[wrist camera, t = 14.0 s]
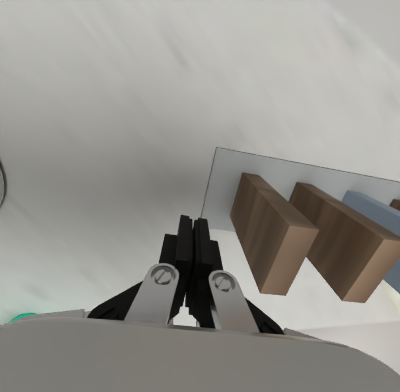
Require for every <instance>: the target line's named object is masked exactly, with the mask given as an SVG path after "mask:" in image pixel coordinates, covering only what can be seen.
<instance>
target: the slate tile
mask: <svg viewBox="0 0 400 392" xmlns="http://www.w3.org/2000/svg"><path fill="white" fill-rule="evenodd" d="M341 202H342V203H344V204H346V205H347V206H349V207H351V208H352V209H354V210H356V211H357V212H359V213H361V214H362V215H364V216H366V217H367V218H369V219H371V220H372V221H374V222H376V223H378V224H379V225H381V226H383V227H384V228H386V229H388V230H389V231H391V232H393V233H394V234H396V235H398V236H399V237H400V211H399V210H397V209H394V208H392V207H390V206H388V205H386V204H384V203H382V202H380V201H378V200H375V199H373V198H371V197H369V196H367V195H365V194H363V193H359V192H354V191H348V190H347V192H346V194H345V196H344V197H343V199H342V201H341ZM383 280H385V281H386V282H387V283H388V284H389V285H390V286H392V287H393V288H394V289H395V290H396V291H397V292H398V293H400V257H399V258H398V260H397V261H396V262H395V264H394V265H393V266H392V268H391V269H390V270H389V272H388V273H387V274H386V276H385V277H384V278H383Z"/></svg>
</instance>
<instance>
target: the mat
mask: <svg viewBox="0 0 400 392" xmlns="http://www.w3.org/2000/svg"><path fill="white" fill-rule="evenodd" d="M242 172H244V173H250V174H255V175H259V176H261V177H262V178H263V179H264V180H265V181H266V182H267V183H268V184H269V185H271V186H272V187H273V188H274V189H275V190H276V191H277V192H278V193H279V194H280V195H282V196H283V197H284V198H285V199H286V200H287V201H289V199H290V196H291V194H292V192H293V189H294V187H295V184H296V182H301V183H306V184H312V185H314V186H315V187H317V188H319V189H320V190H322V191H324V192H325V193H327V194H329V195H330V196H332V197H334V198H336V199H337V200H339V201H342V199H343V197H344V196H345V194H346V192H347V190H348V191H354V192H359V193H363V194H365V195H367V196H369V197H371V198H373V199H375V200H378V201H380V202H382V203H384V204H386V205H388V206H389V205H390V203H391V202H392V200H393V199H397V200H400V182H397V181H391V180H386V179H381V178H376V177H370V176H365V175H360V174H355V173H349V172H344V171H339V170H334V169H328V168H323V167H318V166H313V165H307V164H302V163H297V162H292V161H286V160H281V159H276V158H271V157H265V156H260V155H255V154H250V153H244V152H239V151H234V150H228V149H223V148H218V147H216V152H215V156H214V161H213V165H212V170H211V174H210V179H209V183H208V188H207V192H206V197H205V201H204V206H203V210H202V215H201V218H204V219H207V220H208V228H211V229H218V230H226V231H233V232H236V231H235V229H234V226H233V223H232V221H231V218H230V214H231V210H232V207H233V203H234V200H235V196H236V193H237V189H238V186H239V182H240V179H241V176H242Z"/></svg>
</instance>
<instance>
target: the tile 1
mask: <svg viewBox="0 0 400 392" xmlns="http://www.w3.org/2000/svg"><path fill="white" fill-rule="evenodd" d="M230 218H231V221H232V223H233V226H234V229H235V231H236V234H237V236H238V239H239V241H240V244H241V246H242V249H243V251H244V254H245V256H246V259H247V261H248V264H249V266H250V269H251V272H252V274H253V277H254V279H255V282H256V284H257V287H258V289H259V292H260V293H263V294H273V295H284V296H286V294H287V292H288V290H289V288H290V286H291V284H292V282H293V280H294V279H295V277H296V275H297V273H298V271H299V269H300V267H301V265H302V263H303V261H304V259H305V257H306V255H307V253H308V251H309V249H310V247H311V245H312V243H313V242H314V240H315V238H316V236H317V234H318V232H319V229H318V228H317V227H316V226H315V225H314V224H312V223H311V222H310V221H309V220H308V219H307V218H306V217H305V216H304V215H303V214H301V213H300V212H299V211H298V210H297V209H296V208H295V207H294V206H293V205H291V204H290V203H289V202H288V201H287V200H286V199H285V198H284V197H283V196H282V195H280V194H279V193H278V192H277V191H276V190H275V189H274V188H273V187H272V186H271V185H269V184H268V183H267V182H266V181H265V180H264V179H263V178H262V177H261V176H259V175H255V174H250V173H244V172H242V176H241V179H240V182H239V186H238V189H237V193H236V196H235V200H234V203H233V207H232V210H231V214H230Z"/></svg>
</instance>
